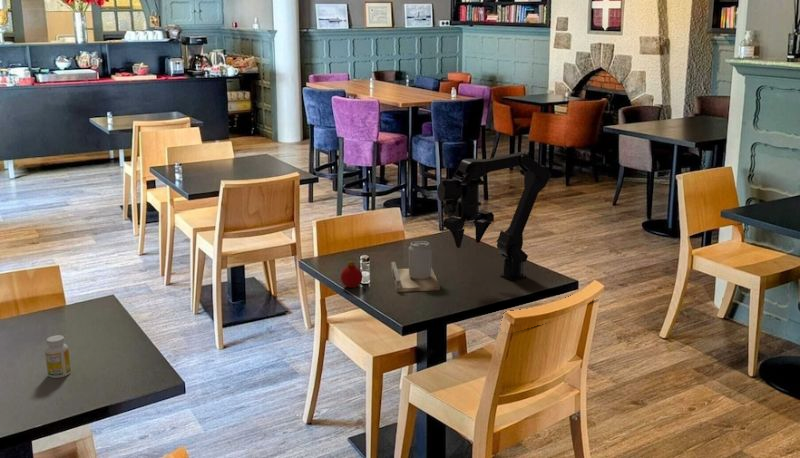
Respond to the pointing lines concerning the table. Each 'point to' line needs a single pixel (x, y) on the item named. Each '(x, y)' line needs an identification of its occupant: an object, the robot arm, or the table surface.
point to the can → (419, 260)
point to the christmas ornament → (351, 275)
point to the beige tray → (412, 281)
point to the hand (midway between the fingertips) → (468, 245)
